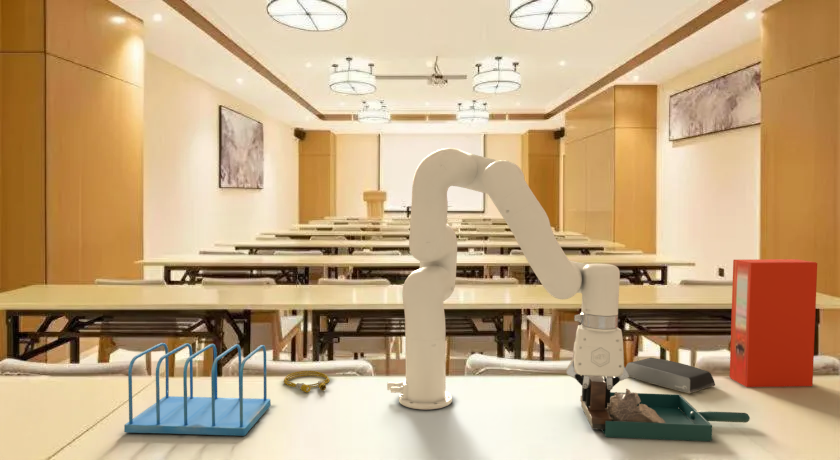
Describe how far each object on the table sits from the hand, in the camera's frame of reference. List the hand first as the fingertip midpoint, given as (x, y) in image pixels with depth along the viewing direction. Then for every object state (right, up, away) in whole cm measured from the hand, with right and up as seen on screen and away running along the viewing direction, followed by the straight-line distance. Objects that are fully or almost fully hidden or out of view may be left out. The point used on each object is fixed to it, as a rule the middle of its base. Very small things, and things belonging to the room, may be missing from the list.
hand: (595, 404), depth 126 cm
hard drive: (+27, -2, +27) cm, 39 cm away
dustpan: (+16, -3, -1) cm, 16 cm away
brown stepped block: (0, -3, 0) cm, 3 cm away
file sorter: (-85, -4, 0) cm, 85 cm away
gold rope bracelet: (-67, -2, +25) cm, 72 cm away
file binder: (+54, -2, +27) cm, 60 cm away
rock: (+7, -4, -3) cm, 9 cm away
